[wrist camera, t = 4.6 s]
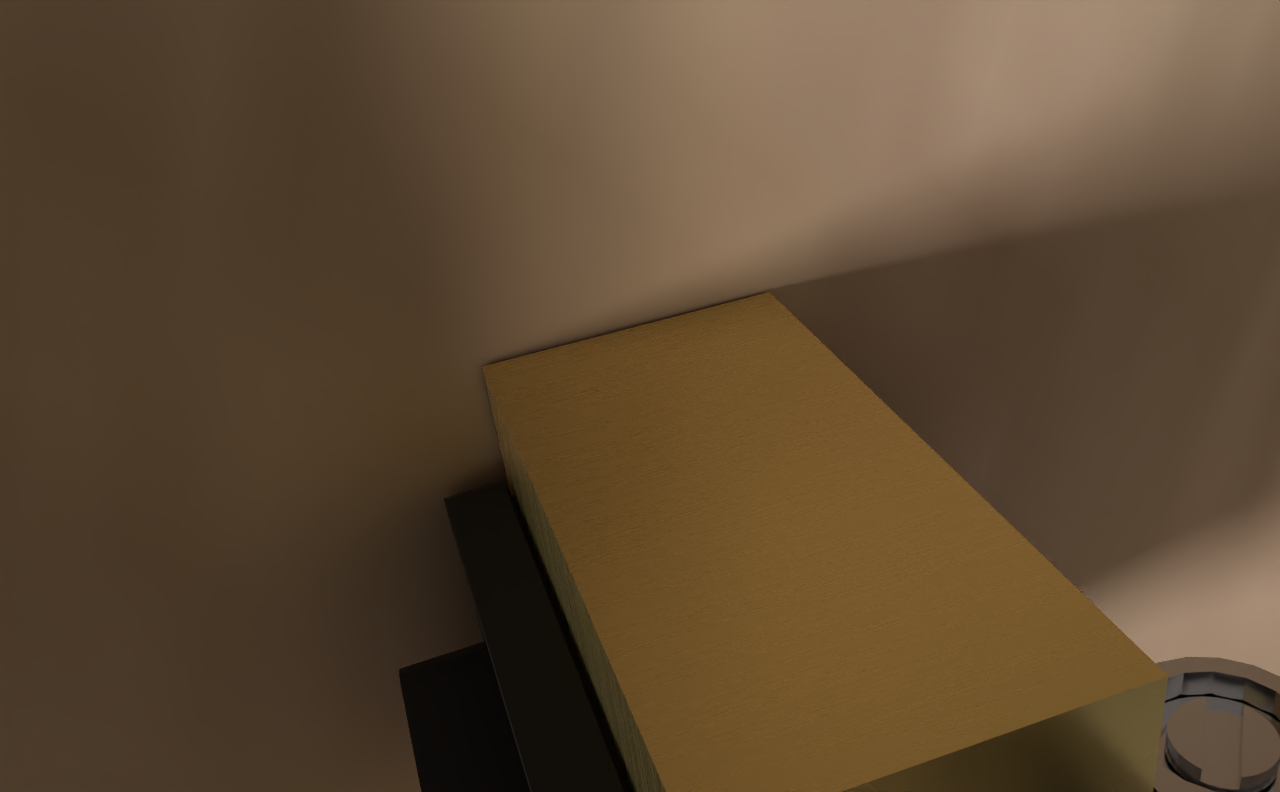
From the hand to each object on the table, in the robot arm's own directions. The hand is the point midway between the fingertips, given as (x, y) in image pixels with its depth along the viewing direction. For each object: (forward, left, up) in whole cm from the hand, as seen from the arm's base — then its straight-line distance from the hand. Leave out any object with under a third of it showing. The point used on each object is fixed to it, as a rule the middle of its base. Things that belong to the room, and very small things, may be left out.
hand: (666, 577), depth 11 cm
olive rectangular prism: (0, 0, 0) cm, 0 cm away
